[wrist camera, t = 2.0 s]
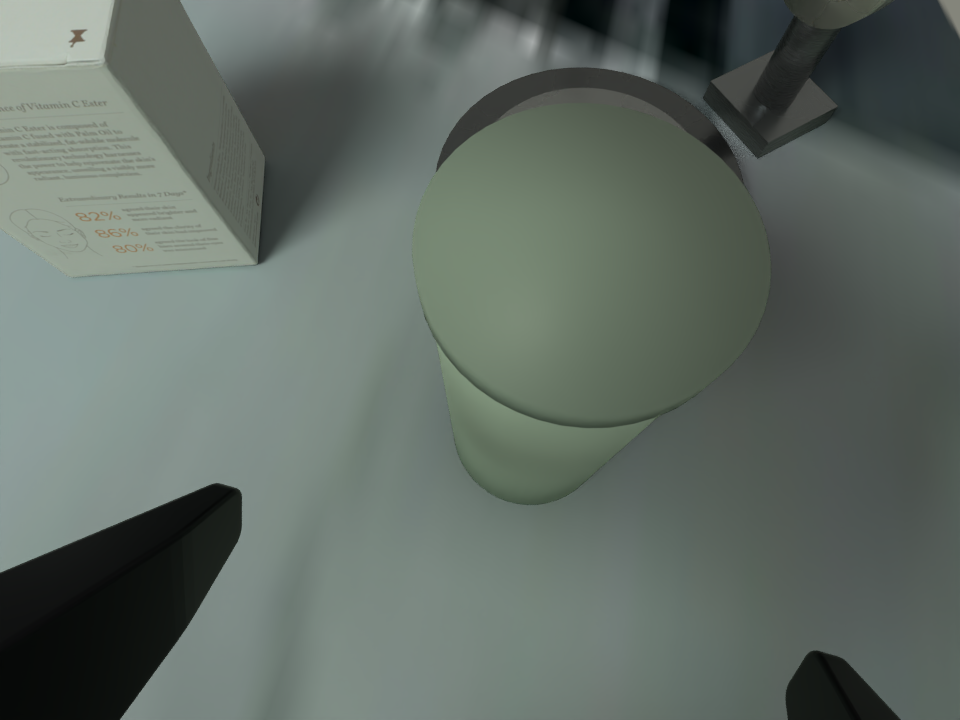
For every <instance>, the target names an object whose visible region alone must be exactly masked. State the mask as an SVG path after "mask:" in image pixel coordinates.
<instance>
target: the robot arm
mask: <svg viewBox="0 0 960 720" xmlns="http://www.w3.org/2000/svg"><path fill="white" fill-rule="evenodd" d="M241 528H242V494H241V492H240V490H239V489H237V488H234V487H231V486H227V485H223V484H220V483H215V484H211V485H209V486H206V487H204V488H201V489H199V490H197V491H194V492H192V493H189V494H187V495H185V496H182V497H180V498H177V499H175V500H173V501H170V502H168V503H166V504H163V505H161V506H158V507H156V508H154V509H151V510H149V511H146V512H144V513H142V514H139V515H137V516H135V517H132V518H130V519H127V520H125V521H123V522H120V523H118V524H115V525H113V526H111V527H108V528H106V529H103V530H101V531H99V532H96V533H94V534H92V535H89V536H87V537H84V538H82V539H80V540H77V541H75V542H72V543H70V544H68V545H65V546H63V547H61V548H58V549H56V550H53V551H51V552H49V553H46V554H44V555H41V556H39V557H37V558H34V559H32V560H29V561H27V562H25V563H22V564H20V565H18V566H15V567H13V568H10V569H8V570H6V571H3V572H1V573H0V720H120V719H121V717H122V716H123V715H124V713H125V712H126V711H127V709H128V708H129V707H130V705H131V704H132V702H133V701H134V700H135V698H136V697H137V696H138V694H139V693H140V691H141V690H142V689H143V687H144V686H145V685H146V683H147V682H148V681H149V679H150V678H151V676H152V675H153V674H154V672H155V671H156V670H157V668H158V667H159V665H160V664H161V663H162V661H163V660H164V659H165V657H166V656H167V655H168V653H169V652H170V650H171V649H172V648H173V646H174V645H175V644H176V642H177V641H178V639H179V638H180V637H181V635H182V634H183V632H184V631H185V629H186V628H187V626H188V625H189V623H190V621H191V620H192V618H193V617H194V615H195V613H196V612H197V610H198V608H199V607H200V605H201V603H202V601H203V600H204V598H205V596H206V595H207V593H208V591H209V590H210V588H211V586H212V584H213V583H214V581H215V579H216V578H217V576H218V574H219V572H220V571H221V569H222V567H223V566H224V564H225V562H226V561H227V559H228V557H229V555H230V554H231V552H232V550H233V549H234V547H235V545H236V543H237V542H238V539H239V537H240V534H241ZM786 708H787V716H788V720H901V719H900V718H899V717H898V716H897V715H896V714H895V713H894V712H893V711H892V710H891V709H890V708H889V707H888V705H887V704H886V703H885V702H884V701H883V700H882V699H881V698H880V697H879V696H878V695H877V694H876V693H875V692H874V691H873V689H872V688H871V687H870V686H869V685H868V684H867V683H866V682H865V681H864V680H863V679H862V678H861V677H860V676H859V674H858V673H857V672H856V671H855V670H854V669H853V668H852V667H851V666H850V665H849V664H848V663H847V662H846V661H845V660H844V659H842V658H840V657H838V656H835V655H831V654H828V653H824V652H821V651H811V652H809V653H808V654H807V655H806V657H805V658H804V660H803V661H802V663H801V665H800V666H799V668H798V669H797V671H796V673H795V674H794V676H793V677H792V679H791V680H790V682H789V684H788V687H787V690H786Z"/></svg>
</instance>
